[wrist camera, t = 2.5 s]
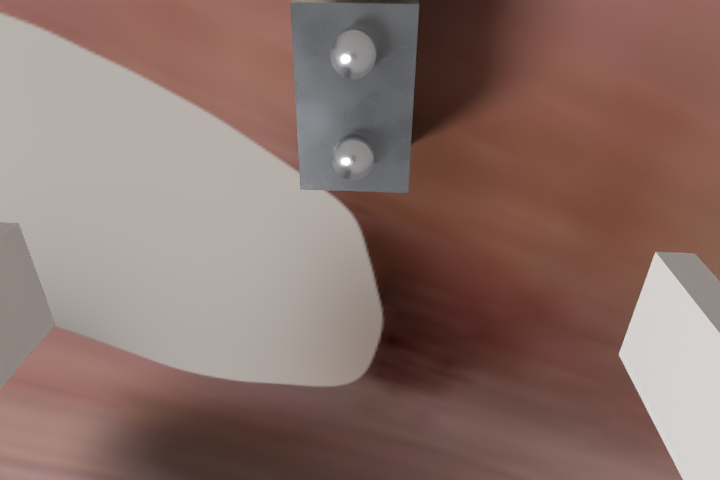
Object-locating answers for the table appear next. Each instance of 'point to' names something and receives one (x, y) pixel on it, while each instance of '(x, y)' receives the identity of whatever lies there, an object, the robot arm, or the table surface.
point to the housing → (354, 92)
